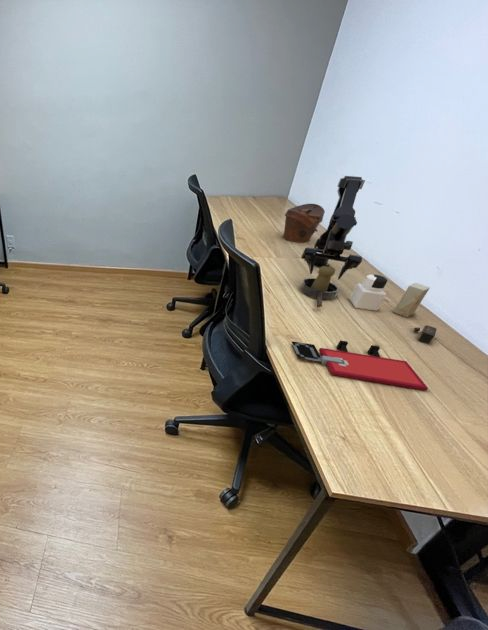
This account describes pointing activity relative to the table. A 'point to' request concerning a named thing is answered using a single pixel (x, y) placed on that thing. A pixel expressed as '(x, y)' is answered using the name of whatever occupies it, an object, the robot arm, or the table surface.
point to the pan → (311, 292)
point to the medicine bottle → (369, 293)
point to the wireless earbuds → (426, 333)
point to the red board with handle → (362, 365)
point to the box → (411, 299)
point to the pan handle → (319, 299)
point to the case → (302, 222)
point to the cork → (323, 278)
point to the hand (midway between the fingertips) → (324, 276)
